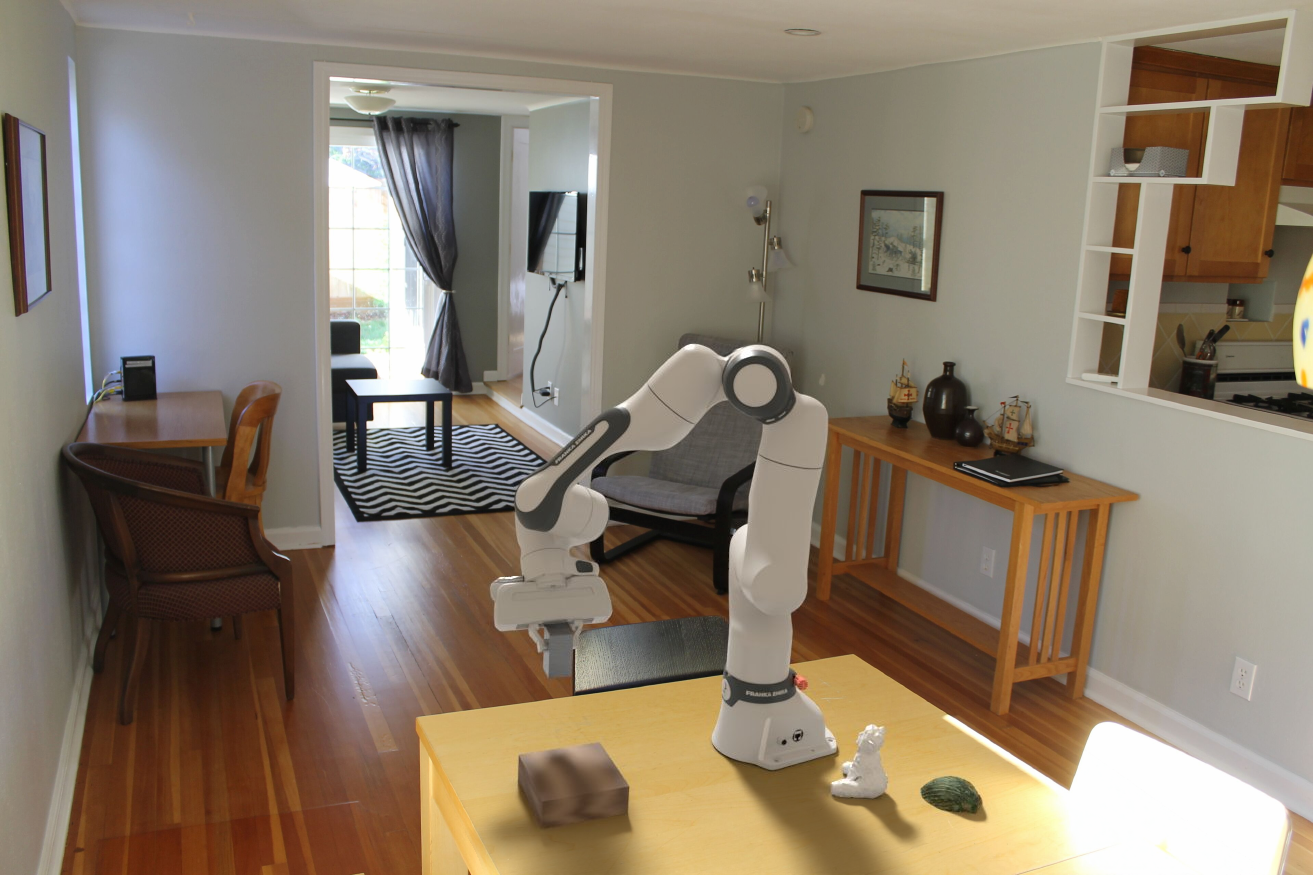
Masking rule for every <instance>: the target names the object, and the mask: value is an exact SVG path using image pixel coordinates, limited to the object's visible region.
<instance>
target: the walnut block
mask: <svg viewBox="0 0 1313 875" xmlns="http://www.w3.org/2000/svg"><path fill="white" fill-rule="evenodd" d="M517 767H518V768H517V781H518V783H519V786H520V788H521V789H522V792H523V793H524V795H525V798H526V800H527V802H528V804H529V806H530V808H531V810H532V813H533V814H534V816H535V819H536V820H537V822H538V824H539V827H540V828H541V830H543V829H549V828H554V827H559V826H564V825H565V826H566V825H571V824H575V823H576V824H577V823H579V822H580V823H582V822H586V821H591V820H596V819H602V818H608V817H613V816H619V815H623V814H628V813H629V803H630V800H629V799H630V798H629V797H630V785H629V783H628V781H626V779H625V778H624V776H623V775H622V772H621V771H620V770H619V768H618V767H617V766H616V764H615V763H614V761H613V760H612V758H611V757H610V755H609V753H608V752H607V751H606V749H605V747H604V746H603V745H602V743H601V742H591V743H585V744H578V745H573V746H565V747H559V748H553V749H552V748H551V749H546V750H539V751H533V752H526V753H520V754H518V763H517Z"/></svg>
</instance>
